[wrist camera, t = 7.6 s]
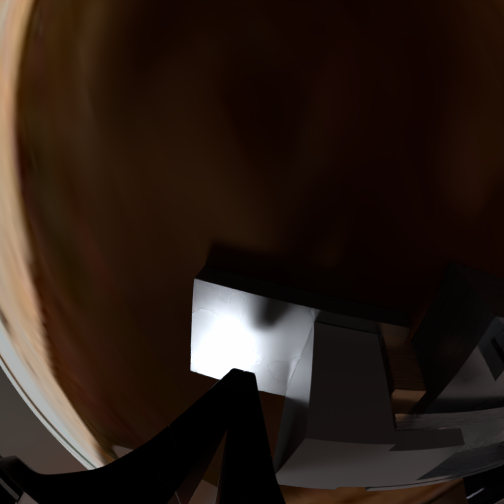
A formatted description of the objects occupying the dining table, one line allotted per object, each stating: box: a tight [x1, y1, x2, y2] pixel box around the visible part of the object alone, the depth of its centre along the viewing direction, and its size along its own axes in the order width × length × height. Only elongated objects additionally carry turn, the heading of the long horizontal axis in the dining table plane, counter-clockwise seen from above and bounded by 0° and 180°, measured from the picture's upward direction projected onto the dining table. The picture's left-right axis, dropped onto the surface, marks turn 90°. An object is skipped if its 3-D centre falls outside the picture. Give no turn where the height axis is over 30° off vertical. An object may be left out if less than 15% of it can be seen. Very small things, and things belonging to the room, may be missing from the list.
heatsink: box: [366, 262, 504, 491], centre depth 7 cm, size 15×10×5 cm, turn 81°
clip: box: [273, 322, 465, 489], centre depth 8 cm, size 5×4×4 cm
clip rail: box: [191, 266, 412, 396], centre depth 10 cm, size 8×5×1 cm, turn 81°
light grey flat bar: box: [392, 407, 504, 453], centre depth 6 cm, size 14×2×1 cm, turn 81°
